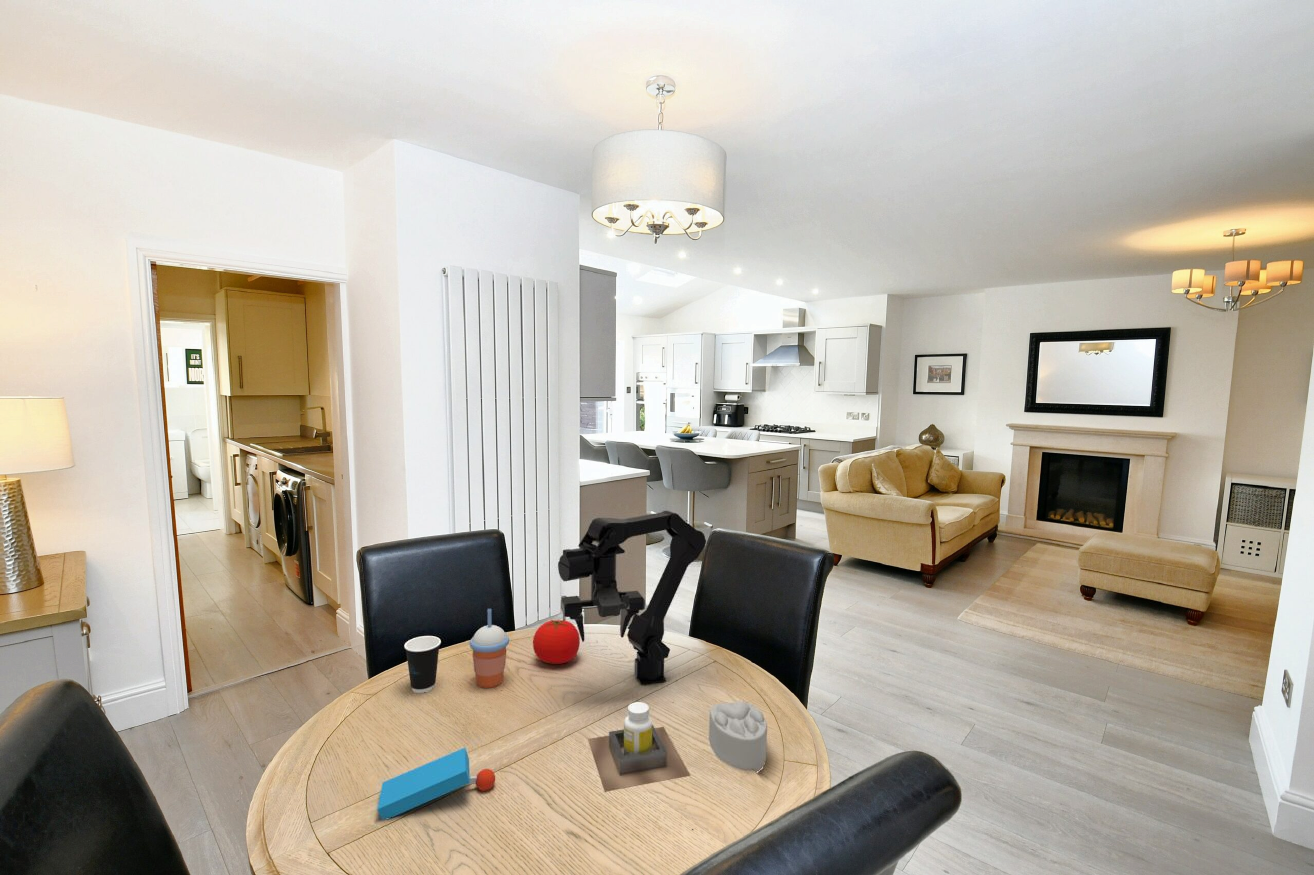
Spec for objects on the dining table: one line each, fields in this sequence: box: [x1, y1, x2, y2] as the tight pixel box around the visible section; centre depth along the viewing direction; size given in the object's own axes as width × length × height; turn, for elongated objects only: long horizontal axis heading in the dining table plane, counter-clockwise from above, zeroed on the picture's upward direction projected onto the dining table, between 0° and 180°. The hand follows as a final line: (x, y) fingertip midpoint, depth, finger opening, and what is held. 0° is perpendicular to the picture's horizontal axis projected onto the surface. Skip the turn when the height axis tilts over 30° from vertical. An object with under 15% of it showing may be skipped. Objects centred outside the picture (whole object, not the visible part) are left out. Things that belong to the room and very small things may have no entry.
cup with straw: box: [469, 608, 510, 689], centre depth 142 cm, size 9×9×18 cm
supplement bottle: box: [623, 701, 653, 755], centre depth 113 cm, size 5×5×10 cm
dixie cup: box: [403, 635, 442, 694], centre depth 138 cm, size 8×8×11 cm
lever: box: [377, 747, 496, 820], centre depth 103 cm, size 7×7×18 cm
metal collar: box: [608, 724, 667, 775], centre depth 113 cm, size 9×9×3 cm
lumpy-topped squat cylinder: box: [708, 700, 768, 773], centre depth 116 cm, size 10×13×9 cm
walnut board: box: [587, 726, 692, 793], centre depth 113 cm, size 16×16×1 cm
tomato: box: [532, 619, 581, 665], centre depth 154 cm, size 12×12×10 cm
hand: (602, 639), depth 137 cm, fingers open, 9 cm apart
